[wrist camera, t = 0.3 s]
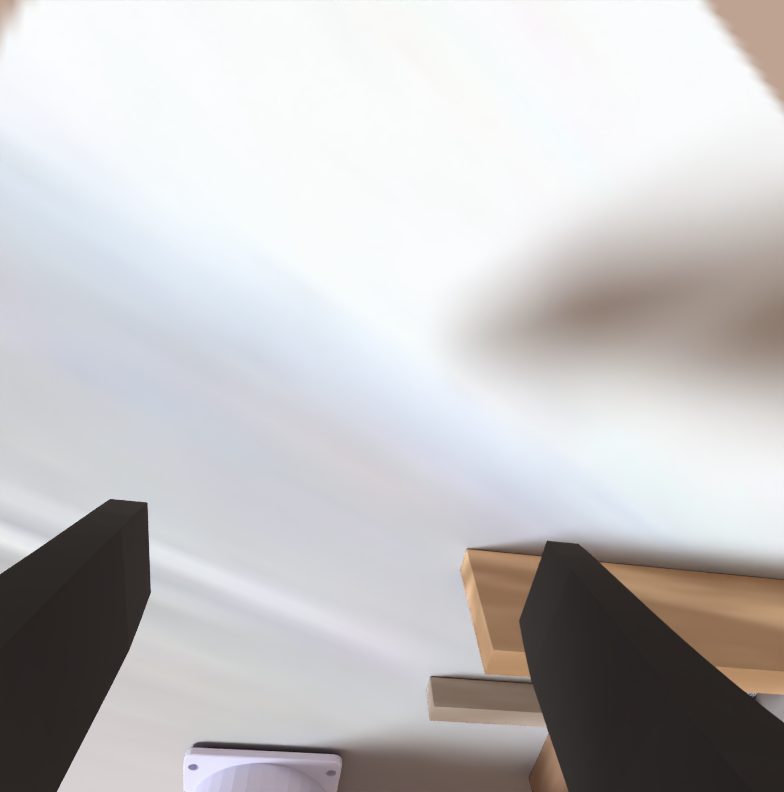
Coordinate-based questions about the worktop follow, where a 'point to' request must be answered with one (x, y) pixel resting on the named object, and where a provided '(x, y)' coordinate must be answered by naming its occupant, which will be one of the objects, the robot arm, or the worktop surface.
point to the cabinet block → (547, 771)
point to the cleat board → (656, 587)
